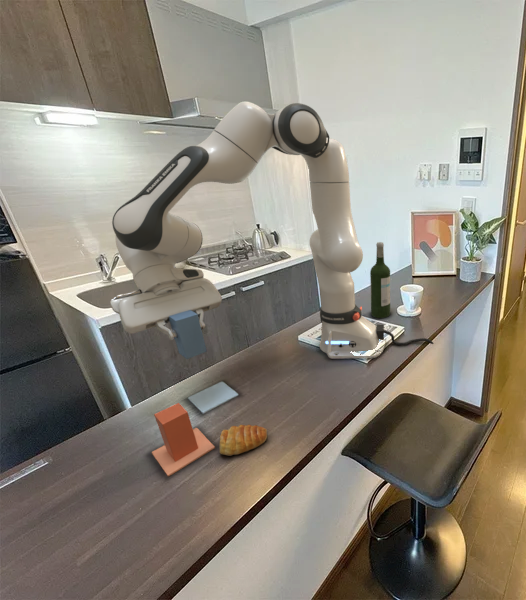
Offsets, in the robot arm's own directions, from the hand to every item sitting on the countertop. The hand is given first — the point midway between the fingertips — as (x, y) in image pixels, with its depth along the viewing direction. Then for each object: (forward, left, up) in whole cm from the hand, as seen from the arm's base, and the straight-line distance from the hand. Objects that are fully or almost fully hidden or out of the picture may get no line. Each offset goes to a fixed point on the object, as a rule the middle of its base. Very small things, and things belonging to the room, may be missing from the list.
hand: (189, 333), depth 76 cm
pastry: (-16, +11, -21) cm, 28 cm away
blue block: (+1, 0, -5) cm, 5 cm away
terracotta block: (-5, +14, -20) cm, 25 cm away
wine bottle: (-34, -60, -21) cm, 72 cm away
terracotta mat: (-5, +14, -21) cm, 26 cm away
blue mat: (0, -3, -21) cm, 21 cm away
